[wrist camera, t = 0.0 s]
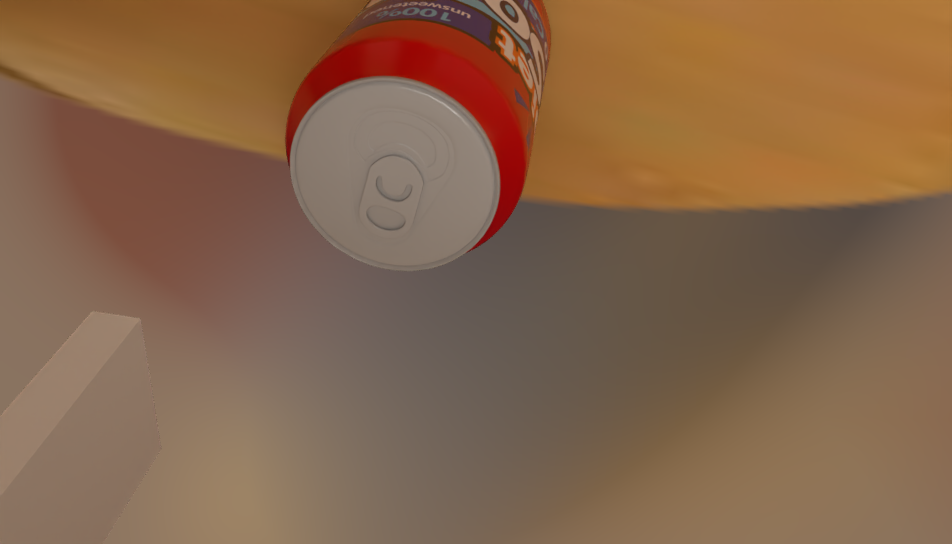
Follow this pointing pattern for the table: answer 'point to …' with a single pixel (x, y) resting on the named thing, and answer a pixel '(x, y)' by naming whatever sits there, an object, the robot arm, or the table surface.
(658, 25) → the table surface
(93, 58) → the table surface
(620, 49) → the table surface
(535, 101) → the soda can
